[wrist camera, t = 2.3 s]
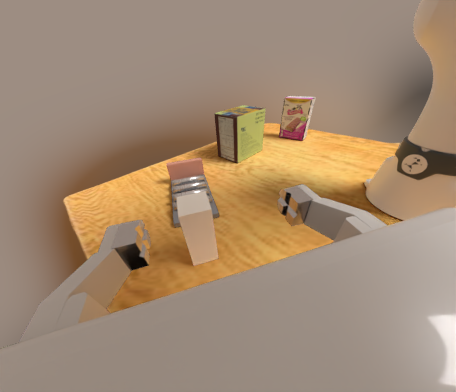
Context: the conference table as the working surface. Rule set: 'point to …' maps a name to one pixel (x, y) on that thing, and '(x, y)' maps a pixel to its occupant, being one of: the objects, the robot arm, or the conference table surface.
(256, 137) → the protein box
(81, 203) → the conference table surface
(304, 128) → the candy bar box
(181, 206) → the wooden block
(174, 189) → the roller track
